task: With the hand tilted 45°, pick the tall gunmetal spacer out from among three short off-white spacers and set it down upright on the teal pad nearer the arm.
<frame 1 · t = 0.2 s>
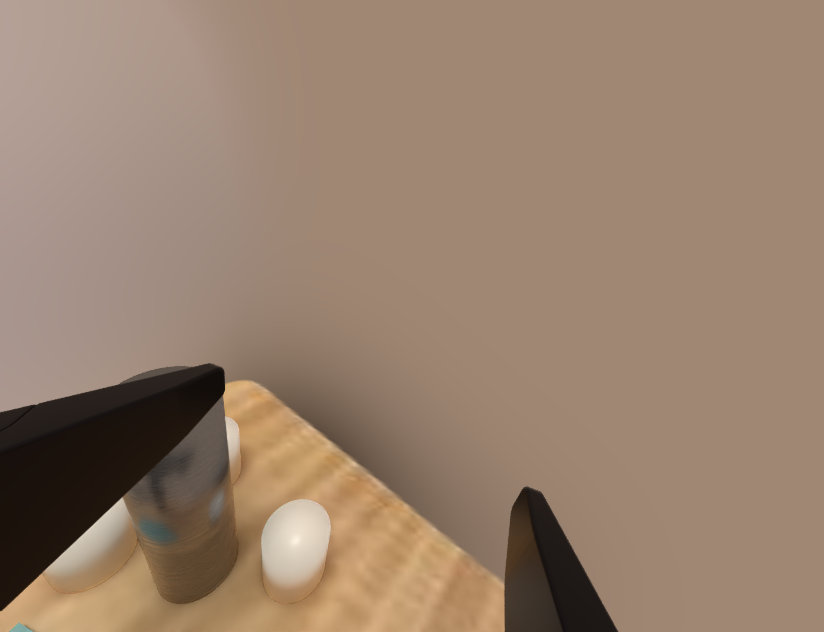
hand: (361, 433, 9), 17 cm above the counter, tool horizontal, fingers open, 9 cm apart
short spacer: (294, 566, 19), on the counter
gunmetal spacer: (199, 559, 19), on the counter
short spacer 1: (96, 553, 18), on the counter
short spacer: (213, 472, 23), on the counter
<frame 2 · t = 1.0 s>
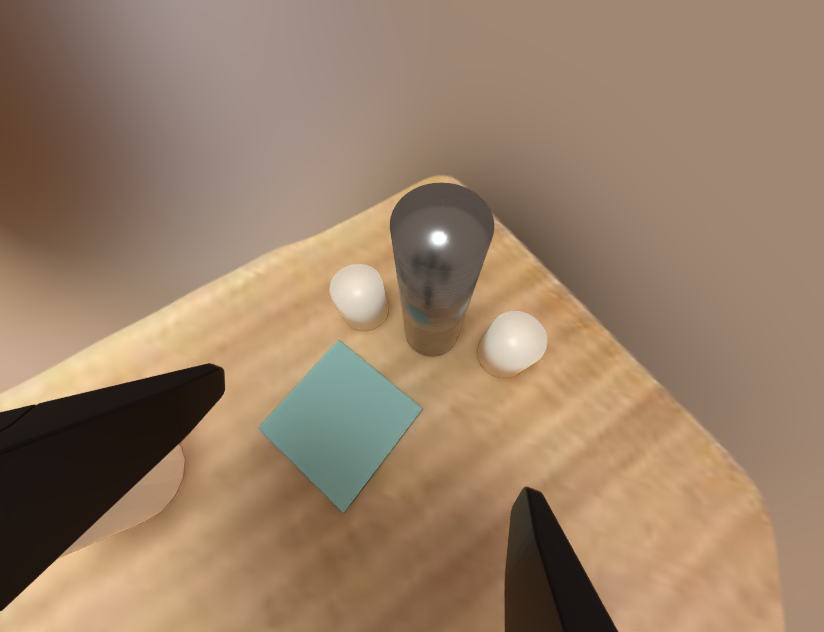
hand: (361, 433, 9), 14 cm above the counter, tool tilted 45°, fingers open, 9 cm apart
white cylindrical piece: (144, 475, 21), on the counter
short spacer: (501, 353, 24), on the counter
gunmetal spacer: (431, 330, 24), on the counter
teal pad: (341, 418, 22), on the counter
short spacer 1: (365, 309, 25), on the counter
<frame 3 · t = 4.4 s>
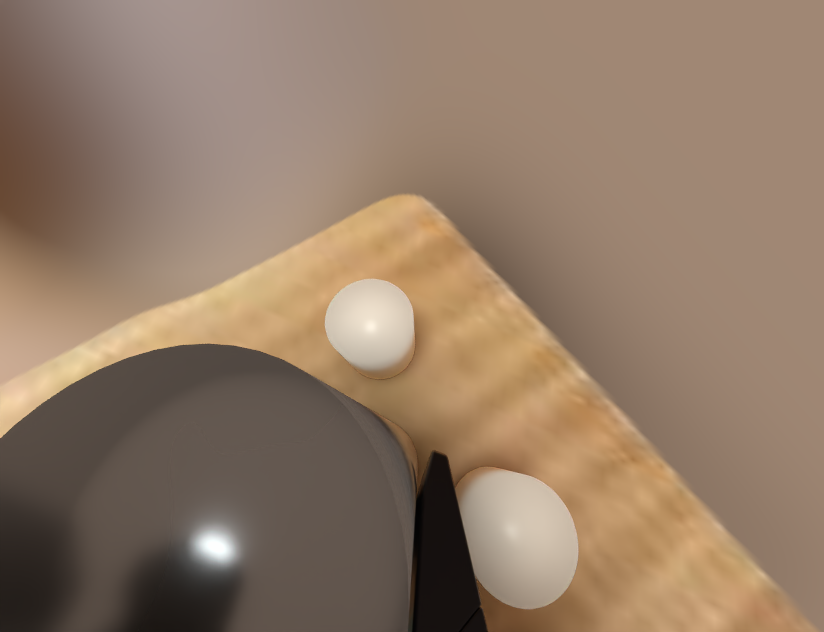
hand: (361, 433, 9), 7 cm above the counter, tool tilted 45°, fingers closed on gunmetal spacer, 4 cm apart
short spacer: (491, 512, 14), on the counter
gunmetal spacer: (374, 464, 14), on the counter, touching gripper
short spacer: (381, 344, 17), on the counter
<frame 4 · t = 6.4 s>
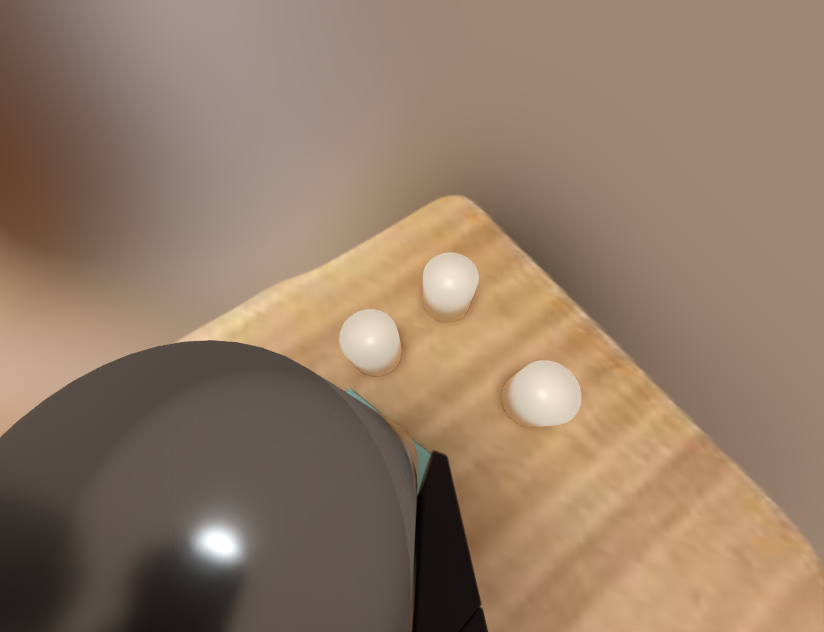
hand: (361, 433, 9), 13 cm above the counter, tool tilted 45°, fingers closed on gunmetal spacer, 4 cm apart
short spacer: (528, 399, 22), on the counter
gunmetal spacer: (374, 464, 14), point 7 cm above the counter, touching gripper
teal pad: (356, 477, 20), on the counter
short spacer 1: (377, 351, 23), on the counter
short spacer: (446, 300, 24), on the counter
when the fingers open (8 cm above the counter, at t = 8.6 s): gunmetal spacer stays where it is, resting on teal pad.
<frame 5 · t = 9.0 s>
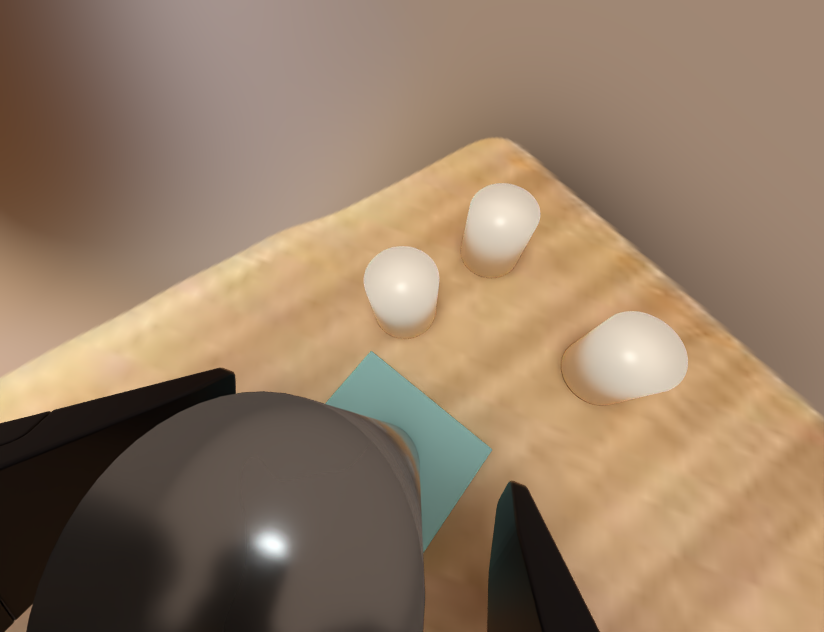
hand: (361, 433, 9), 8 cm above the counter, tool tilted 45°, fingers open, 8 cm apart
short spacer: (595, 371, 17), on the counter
gunmetal spacer: (378, 465, 15), resting on teal pad
teal pad: (378, 461, 16), on the counter
short spacer 1: (405, 309, 19), on the counter
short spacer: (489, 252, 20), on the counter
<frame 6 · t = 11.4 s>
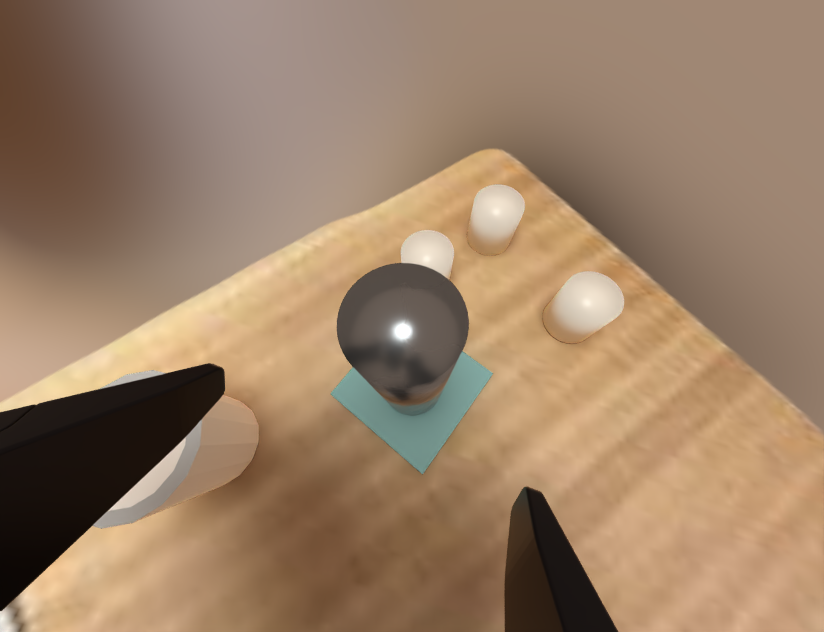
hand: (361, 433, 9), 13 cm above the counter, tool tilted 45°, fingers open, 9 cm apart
white cylindrical piece: (219, 441, 21), on the counter
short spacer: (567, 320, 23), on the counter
gunmetal spacer: (412, 385, 22), resting on teal pad
teal pad: (412, 384, 22), on the counter
short spacer 1: (426, 279, 25), on the counter
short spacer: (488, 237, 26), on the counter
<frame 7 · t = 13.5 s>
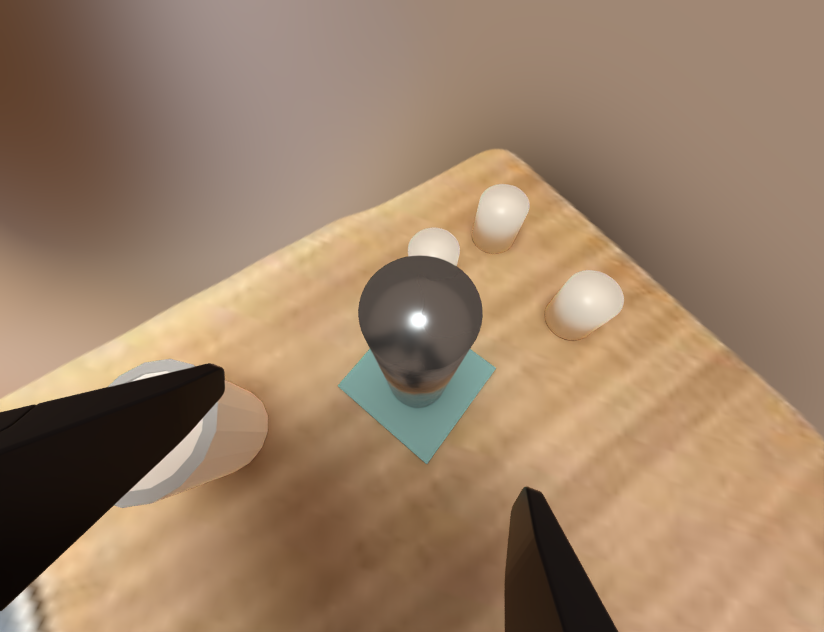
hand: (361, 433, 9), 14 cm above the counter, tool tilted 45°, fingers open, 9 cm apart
white cylindrical piece: (229, 430, 22), on the counter
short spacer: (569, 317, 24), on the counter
gunmetal spacer: (417, 378, 22), resting on teal pad
teal pad: (417, 377, 23), on the counter
short spacer 1: (431, 276, 26), on the counter
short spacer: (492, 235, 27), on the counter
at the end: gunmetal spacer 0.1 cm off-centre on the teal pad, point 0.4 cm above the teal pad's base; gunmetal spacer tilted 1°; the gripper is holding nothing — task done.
